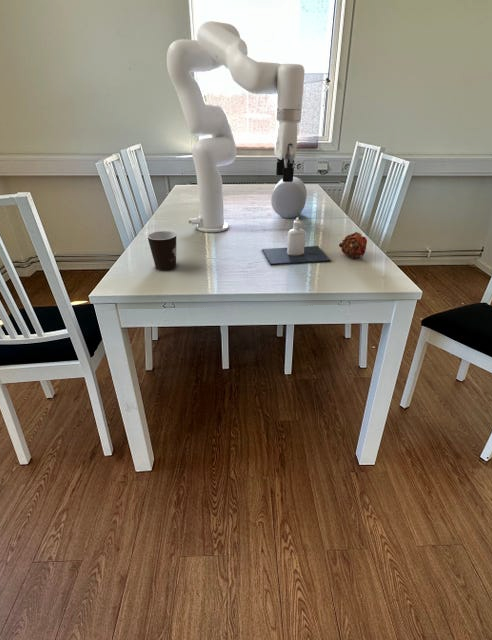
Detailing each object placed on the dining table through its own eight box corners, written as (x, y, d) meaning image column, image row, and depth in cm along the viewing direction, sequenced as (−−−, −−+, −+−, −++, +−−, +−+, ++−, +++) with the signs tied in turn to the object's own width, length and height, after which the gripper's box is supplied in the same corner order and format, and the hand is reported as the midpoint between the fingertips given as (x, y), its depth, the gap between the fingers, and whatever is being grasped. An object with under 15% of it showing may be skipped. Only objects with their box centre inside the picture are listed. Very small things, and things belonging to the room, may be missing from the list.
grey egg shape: (255, 205, 170) (271, 185, 187) (277, 232, 175) (290, 210, 192) (288, 177, 158) (301, 158, 175) (310, 206, 163) (321, 185, 180)
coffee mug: (166, 274, 119) (162, 241, 114) (146, 268, 123) (141, 236, 117) (191, 262, 127) (188, 231, 122) (171, 257, 131) (167, 227, 126)
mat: (270, 265, 126) (270, 263, 126) (262, 250, 137) (262, 248, 137) (330, 261, 129) (330, 259, 129) (317, 247, 140) (317, 245, 140)
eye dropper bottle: (302, 257, 130) (305, 220, 124) (286, 255, 132) (287, 218, 125) (304, 252, 134) (307, 216, 127) (288, 251, 135) (290, 215, 128)
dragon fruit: (352, 267, 129) (346, 259, 139) (375, 252, 126) (367, 245, 137) (339, 246, 126) (333, 239, 136) (363, 230, 123) (355, 224, 134)
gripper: (270, 113, 123) (267, 172, 133) (282, 118, 109) (278, 184, 119) (293, 113, 124) (289, 172, 134) (308, 118, 110) (302, 184, 120)
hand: (284, 178), depth 127 cm, fingers open, 9 cm apart
